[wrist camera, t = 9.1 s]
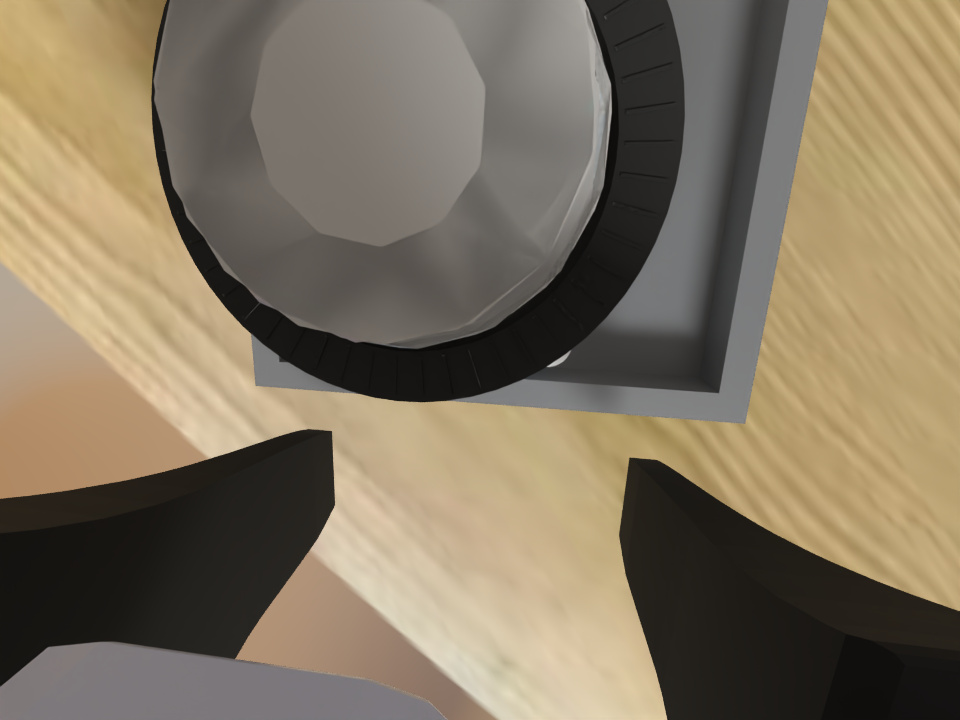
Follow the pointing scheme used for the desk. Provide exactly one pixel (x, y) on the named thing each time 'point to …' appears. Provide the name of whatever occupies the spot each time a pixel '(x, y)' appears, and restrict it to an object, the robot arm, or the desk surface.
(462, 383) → the push button
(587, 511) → the desk surface
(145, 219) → the desk surface
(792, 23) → the pin tray
